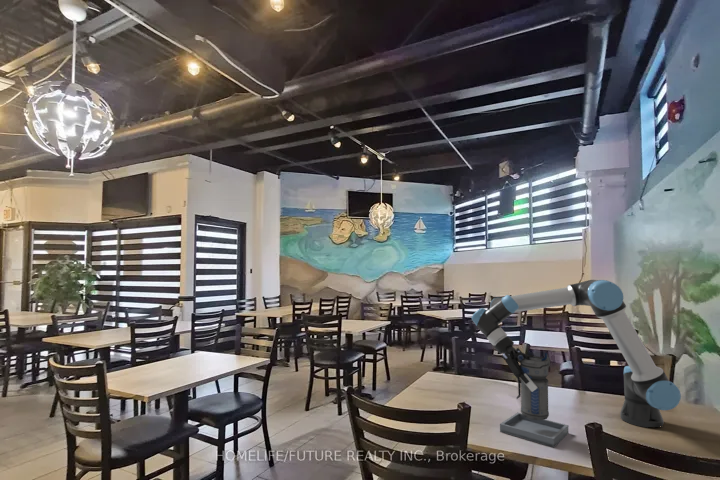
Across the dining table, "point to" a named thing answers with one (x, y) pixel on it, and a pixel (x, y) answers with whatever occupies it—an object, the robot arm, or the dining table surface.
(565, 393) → the dining table surface
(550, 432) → the tray
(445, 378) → the dining table surface
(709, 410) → the dining table surface
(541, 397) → the beverage bottle
